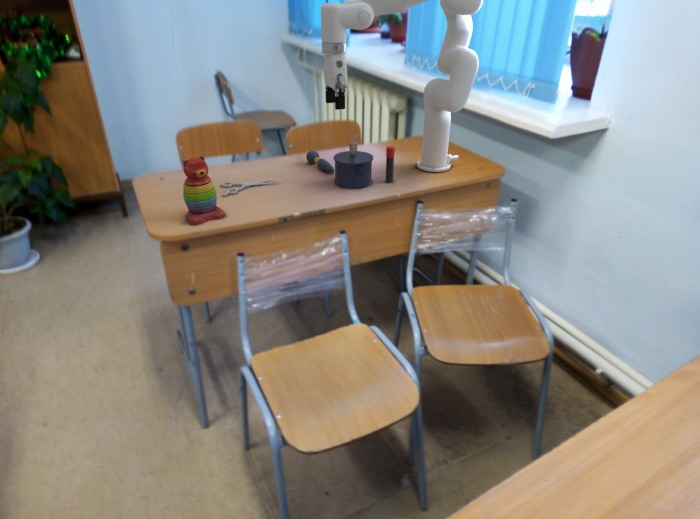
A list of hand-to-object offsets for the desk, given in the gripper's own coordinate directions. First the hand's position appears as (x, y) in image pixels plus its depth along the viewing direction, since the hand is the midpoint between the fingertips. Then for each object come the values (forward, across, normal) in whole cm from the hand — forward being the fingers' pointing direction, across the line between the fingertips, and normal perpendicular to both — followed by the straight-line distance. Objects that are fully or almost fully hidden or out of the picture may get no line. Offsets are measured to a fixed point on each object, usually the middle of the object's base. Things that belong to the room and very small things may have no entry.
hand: (335, 105), depth 155 cm
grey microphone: (+26, +17, +1) cm, 31 cm away
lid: (+18, -2, -6) cm, 19 cm away
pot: (+26, -2, -6) cm, 27 cm away
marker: (+26, -6, -18) cm, 32 cm away
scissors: (+26, +7, +30) cm, 40 cm away
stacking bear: (+26, -12, +46) cm, 55 cm away
